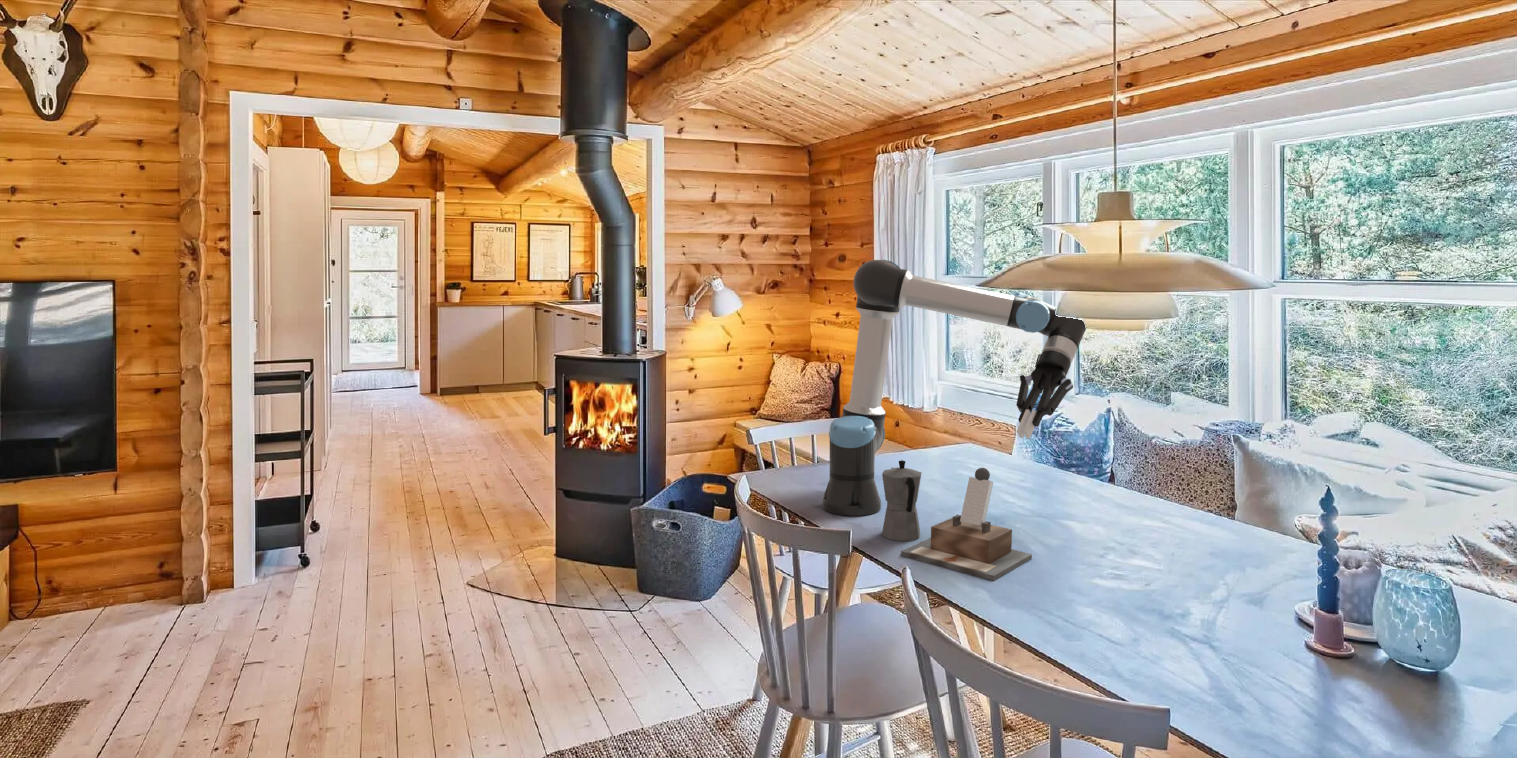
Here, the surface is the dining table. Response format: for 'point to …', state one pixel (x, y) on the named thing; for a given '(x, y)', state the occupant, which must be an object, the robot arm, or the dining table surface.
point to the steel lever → (977, 498)
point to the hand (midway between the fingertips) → (1023, 434)
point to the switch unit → (969, 549)
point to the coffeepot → (901, 503)
